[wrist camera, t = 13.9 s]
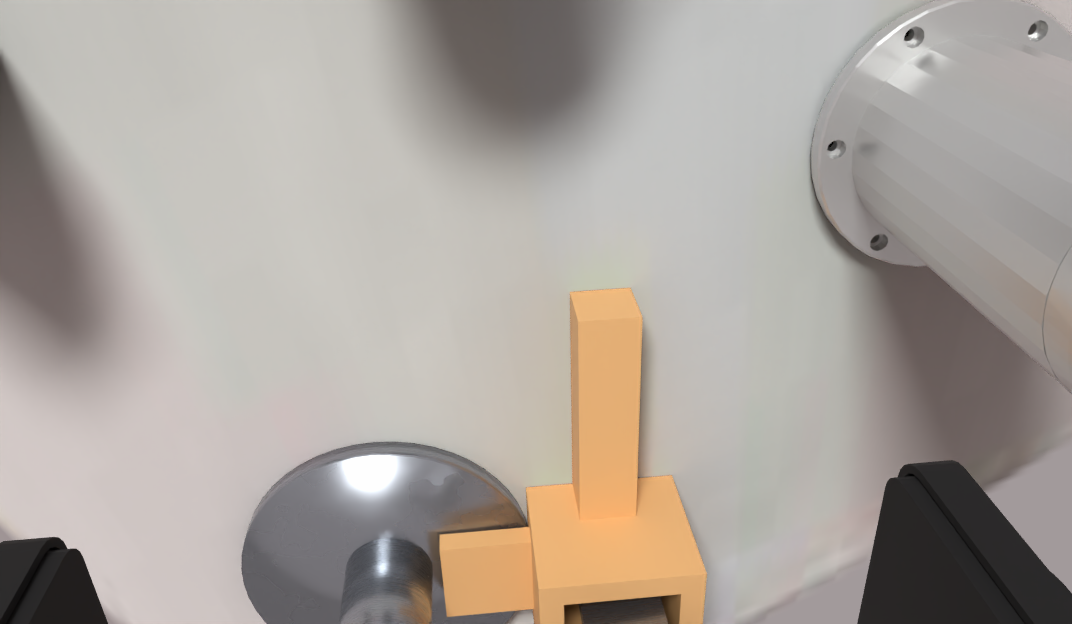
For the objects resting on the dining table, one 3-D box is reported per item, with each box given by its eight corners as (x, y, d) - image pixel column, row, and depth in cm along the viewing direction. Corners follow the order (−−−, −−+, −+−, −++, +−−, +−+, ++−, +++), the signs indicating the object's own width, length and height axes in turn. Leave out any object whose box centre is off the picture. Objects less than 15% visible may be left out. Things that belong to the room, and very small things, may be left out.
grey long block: (634, 503, 50) (674, 646, 41) (638, 555, 52) (678, 701, 43) (564, 514, 50) (590, 659, 41) (571, 565, 52) (597, 714, 43)
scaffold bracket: (682, 284, 43) (725, 364, 37) (665, 582, 53) (697, 687, 46) (416, 302, 42) (411, 387, 36) (449, 601, 52) (449, 712, 45)
